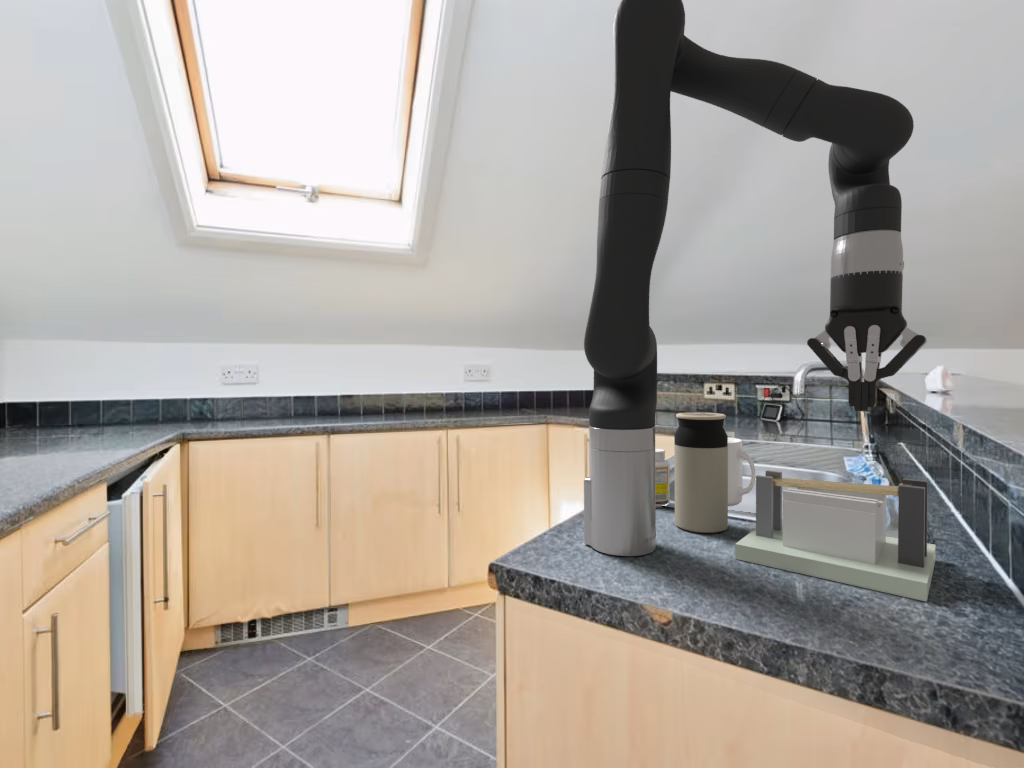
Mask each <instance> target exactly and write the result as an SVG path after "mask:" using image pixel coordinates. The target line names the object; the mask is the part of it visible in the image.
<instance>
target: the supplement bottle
mask: <svg viewBox="0 0 1024 768" xmlns="http://www.w3.org/2000/svg"><path fill="white" fill-rule="evenodd" d="M670 475H671V474H670V462H669V461H668V460H667V459H666V451H665V449H662V448H655V476H656V506H662V505H665V504H667V503H669V502H671V496H670V494H671V493H670V492H671V491H670V489H671V488H670V487H671V486H670V480H671V479H670ZM669 504H670V503H669Z"/></svg>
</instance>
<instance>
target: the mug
mask: <svg viewBox="0 0 1024 768" xmlns="http://www.w3.org/2000/svg"><path fill="white" fill-rule="evenodd" d="M743 444H744V443H743V440H742V439H741V438H737V437H736V438H735V437H730V436H729V437H728V507H733V506H738V505H739V504H741V503H742V500H743V496H744V495H746V494H749V493H751V491H753V489H754V487H755V485H756V468H755V466H756V465H755V463H754V461H753V459H752V457H751V456H750V455H749V454H748V453H747V452H746V451H745V450H743V446H744V445H743ZM743 460H746V461H747V462H748V464H749V467H750V474H751V475H750V476H751V478H750V482H749V484H748V486H746V487H745V488H743V487H744V486H743V478H744V477H743V476H744V475H743Z"/></svg>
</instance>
